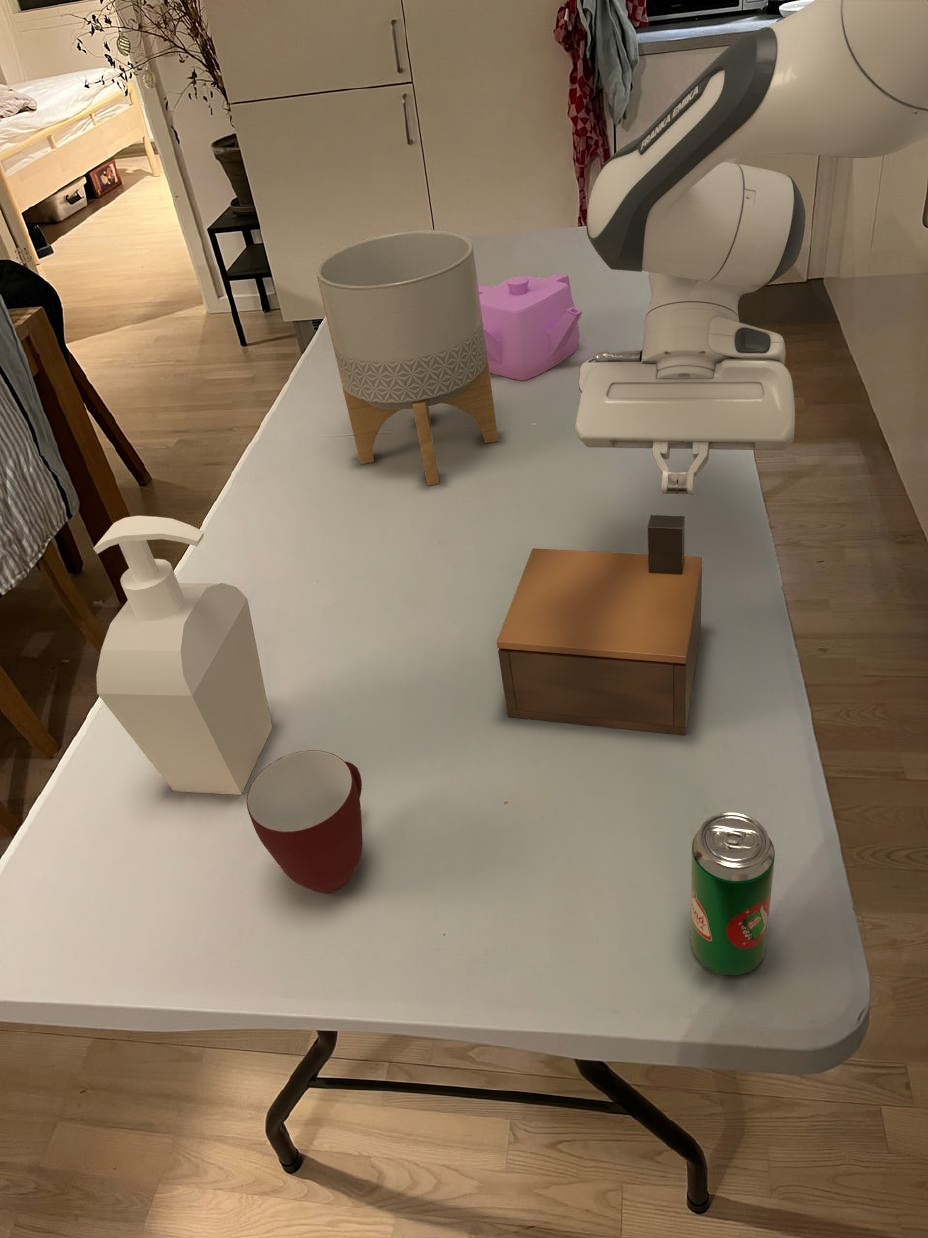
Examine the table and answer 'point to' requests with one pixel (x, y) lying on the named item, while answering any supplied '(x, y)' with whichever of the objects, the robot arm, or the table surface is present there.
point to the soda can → (731, 892)
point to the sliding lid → (608, 600)
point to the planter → (407, 333)
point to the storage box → (602, 687)
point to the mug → (310, 817)
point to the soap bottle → (183, 666)
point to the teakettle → (528, 325)
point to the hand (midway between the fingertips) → (677, 493)
